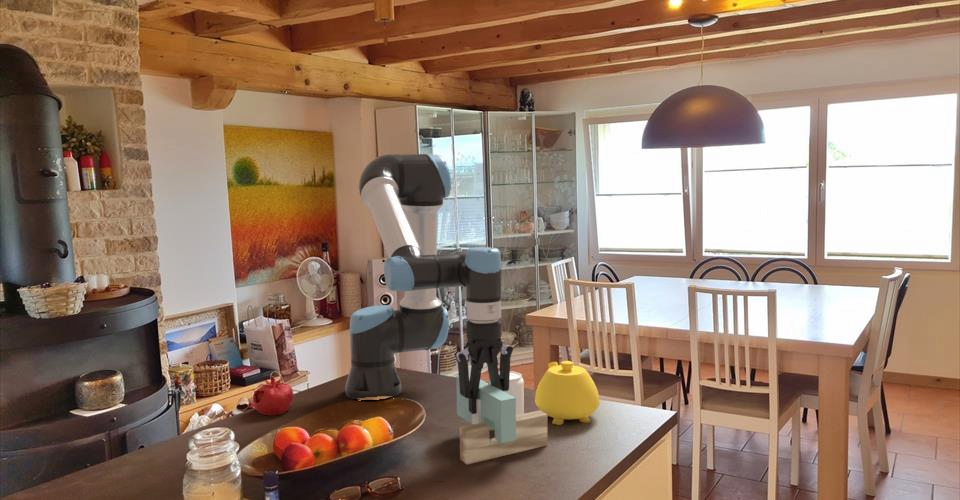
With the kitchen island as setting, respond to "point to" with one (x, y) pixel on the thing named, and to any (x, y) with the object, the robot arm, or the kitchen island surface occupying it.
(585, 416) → the teapot
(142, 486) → the kitchen island surface
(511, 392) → the beverage can
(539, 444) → the birch rail
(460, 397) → the teal board
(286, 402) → the pomegranate
